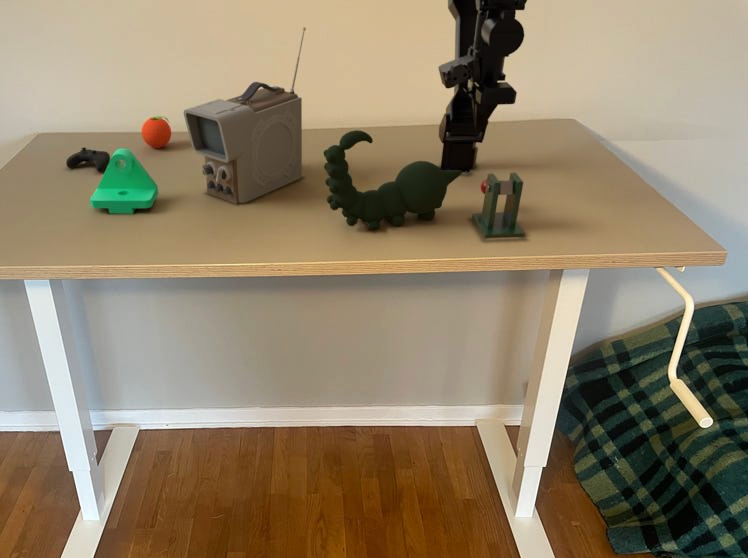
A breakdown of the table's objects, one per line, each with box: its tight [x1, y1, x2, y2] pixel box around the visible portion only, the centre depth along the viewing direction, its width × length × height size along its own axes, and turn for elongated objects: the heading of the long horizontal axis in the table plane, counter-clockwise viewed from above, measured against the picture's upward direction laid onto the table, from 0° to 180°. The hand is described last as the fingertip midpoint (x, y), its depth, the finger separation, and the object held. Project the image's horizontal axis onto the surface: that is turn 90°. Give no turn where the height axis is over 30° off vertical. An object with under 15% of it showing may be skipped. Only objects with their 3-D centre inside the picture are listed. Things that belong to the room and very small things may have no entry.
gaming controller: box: [65, 146, 111, 173], centre depth 164 cm, size 10×5×6 cm
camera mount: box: [89, 147, 159, 214], centre depth 143 cm, size 12×8×10 cm, turn 86°
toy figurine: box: [322, 129, 463, 231], centre depth 132 cm, size 9×19×25 cm
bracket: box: [471, 172, 525, 239], centre depth 131 cm, size 9×7×10 cm
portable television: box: [183, 26, 307, 205], centre depth 144 cm, size 12×24×30 cm, turn 137°
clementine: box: [141, 115, 172, 149], centre depth 172 cm, size 8×7×7 cm
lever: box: [480, 178, 513, 196], centre depth 133 cm, size 11×3×3 cm, turn 2°
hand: (478, 129), depth 139 cm, fingers closed
